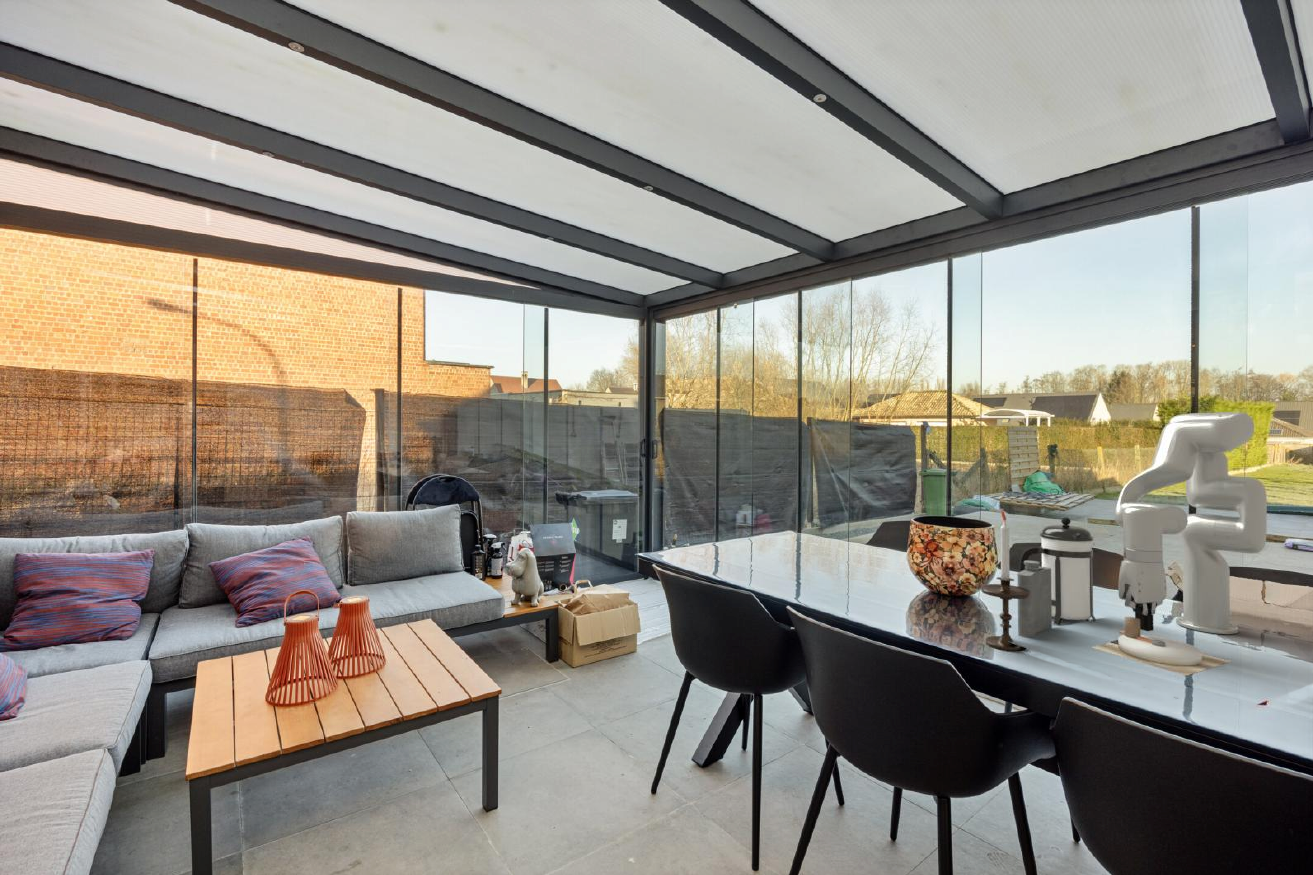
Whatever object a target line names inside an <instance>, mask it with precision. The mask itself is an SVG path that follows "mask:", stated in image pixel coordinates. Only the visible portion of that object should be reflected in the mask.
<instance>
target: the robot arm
mask: <svg viewBox="0 0 1313 875" xmlns="http://www.w3.org/2000/svg"><path fill="white" fill-rule="evenodd" d="M1254 432H1255V422H1254V420H1253V418H1252V417H1251V415H1249V414H1248V413H1245V412H1242V411H1229V412H1228V411H1227V412H1226V411H1225V412H1223V411H1222V412H1221V411H1220V412H1195V413H1194V412H1189V413H1183V414H1178V415H1175V416H1172V417H1171V418H1169V421H1168V423H1167V424H1166V425H1165V426H1163V428H1162V430H1161V433H1160V437H1159V440H1158V442H1157V446H1156V449H1155V452H1154V455H1153V458H1152V461H1151V465H1150V467H1148V468H1147V469H1145V470H1143V471H1142V472H1140V473H1138V474H1137V475H1135V476H1134V477H1133V478H1132V479H1130V480H1129V481H1128V482H1127V483H1126V484H1124V486H1123V487H1122V489H1121V490H1120V493H1119V495H1118V498H1117V502H1116V505H1115V510H1114V520H1115V522H1116V524H1117V525H1118V526H1119V527H1120V528H1121V529H1122V540H1123V541H1122V542H1123V546H1122V548H1123V560H1121V562H1120V567H1119V575H1118V589H1117V590H1118V598H1119V599H1120V600H1124V607H1126V608H1127V607H1128V608H1130V609H1132V612H1133V613H1134V618H1138V619H1140V631H1141V630H1142V631H1145V632H1153V631H1154V628H1155V627H1154V615H1155V614H1156V610H1157V609H1156V608H1157V607H1158V606H1161V605H1163V604H1164V603H1163V602H1164V601H1165V600H1166V598H1167V578H1166V572H1165V565H1164V561H1163V560H1164V557H1163V556H1164V554H1163V552H1164V550H1163V535H1170V536H1171V535H1178V537H1179V541H1180V546H1181V554H1182V555H1181V556H1182V596H1183V597H1182V599H1183V600H1182V606H1183V608H1182V609H1183V616H1179V617H1176V619H1175V621H1176V624H1177V625H1179V626H1182V627H1183V628H1186V629H1190V630H1194V631H1198V632H1204V633H1208V634H1209V633H1210V634H1211V633H1212V634H1216V635H1217V634H1219V635H1235V634H1238V633H1239V627H1238V626H1237V625H1235V624H1233V623H1231V618H1233V617H1234V613H1233V612H1232V611H1231V592H1230V591H1231V589H1230V587H1231V586H1230V579H1231V578H1230V572H1231V571H1230V566H1229V563H1228V562H1227V560H1226V558H1224V557H1223V555H1222V554H1221V553H1220V552H1219V551H1223V552H1232V553H1241V554H1253V555H1254V554H1258V553H1260V552H1262V551H1263V550H1264V549H1265V547H1266V542H1267V518H1268V517H1267V515H1268V513H1267V511H1268V508H1267V507H1268V506H1267V505H1268V502H1267V501H1268V499H1267V498H1268V497H1267V490H1266V488H1265V486H1264V484H1263V482H1261V481H1260V480H1258V479H1257V478H1255V477H1250V476H1233V475H1232V476H1231V475H1229V471H1228V470H1229V469H1228V468H1229V463H1228V461H1229V459H1228V456H1227V455H1226V452H1232V451H1233V450H1235V449H1238V448H1240V447H1241V446H1243V445H1244V444H1246V443H1248V442H1249V441H1250V440H1251V439H1252V437H1253V435H1254ZM1182 483H1185V494H1186V495H1185V497H1186V501H1187V503H1188V504H1189V505H1190V506H1191V507H1193V508H1197V509H1202V510H1209V511H1226V512H1235V513H1236V512H1237V513H1238V515H1239V516H1232V515H1223V514H1210V513H1209V514H1207V513H1189V514H1187V512H1186V511H1185V510H1184V509H1182V508H1181V507H1179V506H1177V505H1173V504H1167V503H1165V504H1162V503H1156V502H1154V503H1153V502H1139V501H1140V500H1141V499H1142V498H1143V497H1144V496H1145V495H1147V494H1149V493H1152V492H1154V491H1157V490H1161V489H1164V488H1167V487H1171V486H1175V485H1178V484H1182Z"/></svg>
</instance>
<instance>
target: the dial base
mask: <svg viewBox="0 0 1313 875" xmlns="http://www.w3.org/2000/svg"><path fill="white" fill-rule="evenodd" d="M1090 648H1092V649H1095V650H1098V651H1102V652H1105V653H1109V654H1112V655H1116V656H1119V657H1122V658H1126V659H1129V660H1131V661H1134V662H1135V661H1136V662H1139V663H1142V664H1146V665H1149V666H1153V667H1156V668H1159V669H1163V670H1166V671H1169V672H1173V673H1177V674H1181V675H1184V676H1186V677H1187V676H1191V675H1193V674H1197V673H1200V672H1202V671H1206V670H1209V669H1212V668H1216V667H1219V666H1223V665H1225V664H1229V663H1231V662H1232V660H1228V659H1224V658H1219V657H1216V656H1212V655H1208V654H1204V653H1202V662H1201V663H1200V664H1197V665H1173V664H1165V663H1159V662H1154V661H1149V660H1145V659H1142V658H1138V657H1135V656H1132V655H1130V654H1127V653H1125V652H1123V651H1122V650H1120V649H1119V647H1118V639H1116V640H1111V641H1110V642H1107V643H1103V644H1099V645H1096V646H1095V645H1094V646H1092V647H1090Z"/></svg>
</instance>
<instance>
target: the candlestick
mask: <svg viewBox="0 0 1313 875" xmlns="http://www.w3.org/2000/svg"><path fill="white" fill-rule="evenodd" d="M1000 512H1001V517H1002V521H1003V523H1002V526H1000V577H996V578H995V579H997V580H998V581H999V580H1000V583H987V584H984V585H981V586H980V589H981V591H980V592H982V594H985V595H987V596H988V595H989V596H990V597H996V598H999V599H1001V600H1002V612H1001V613H1000V614H999V618H1000V619H1001V621H1002V623H1000V625H999V626H1000V627H1002V634H1001V635H993V636H992V635H991V636H987V637H985V644H986V645H987V646H988V647H991V648H993V649H995V650H998V651H999V650H1000V651H1005V652H1013V653H1019V652H1020V653H1021V652H1026V651H1027V650H1028V647H1025V646H1023V645H1019V644H1016V643H1013V642H1014V639H1013V638H1012V637H1011V635H1010V628H1012V625H1011V624H1010V621H1011V620H1012V618H1013V615H1012V614H1010V613H1009V612H1010V611H1009V610H1010V606H1009V605H1010V604H1009V601H1011V600H1018V599H1026V598H1029V597H1030V591H1029V590H1027V589H1025V588H1021V587H1018V585H1017V586H1015V585H1012V584H1011V582H1014V581H1015V579H1014V578H1011V576H1010V526H1008V525H1007V517H1006V515H1005V512H1004V510H1003V509H1002V508H1001V509H1000Z"/></svg>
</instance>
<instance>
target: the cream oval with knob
mask: <svg viewBox="0 0 1313 875" xmlns="http://www.w3.org/2000/svg"><path fill="white" fill-rule="evenodd" d="M1118 634H1120V636H1118V637H1117V640H1118V647H1119V649H1120V650H1122V651H1123V652H1125V653H1127V654H1130V655H1132V656H1135V657H1138V658H1142V659H1145V660H1149V661H1154V662H1159V663H1165V664H1173V665H1197V664H1200V663H1201V662H1202V654H1203V652H1202V650H1201V649H1199V648H1198V647H1196V646H1194V645H1192V644H1189V643H1186V642H1184V641H1183V642H1182V641H1180V640H1176V639H1172V638H1167V637H1162V636H1156V635H1147V634H1141V629H1140V619H1138V618H1135V616H1134V617H1133V616H1124V630H1118Z"/></svg>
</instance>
